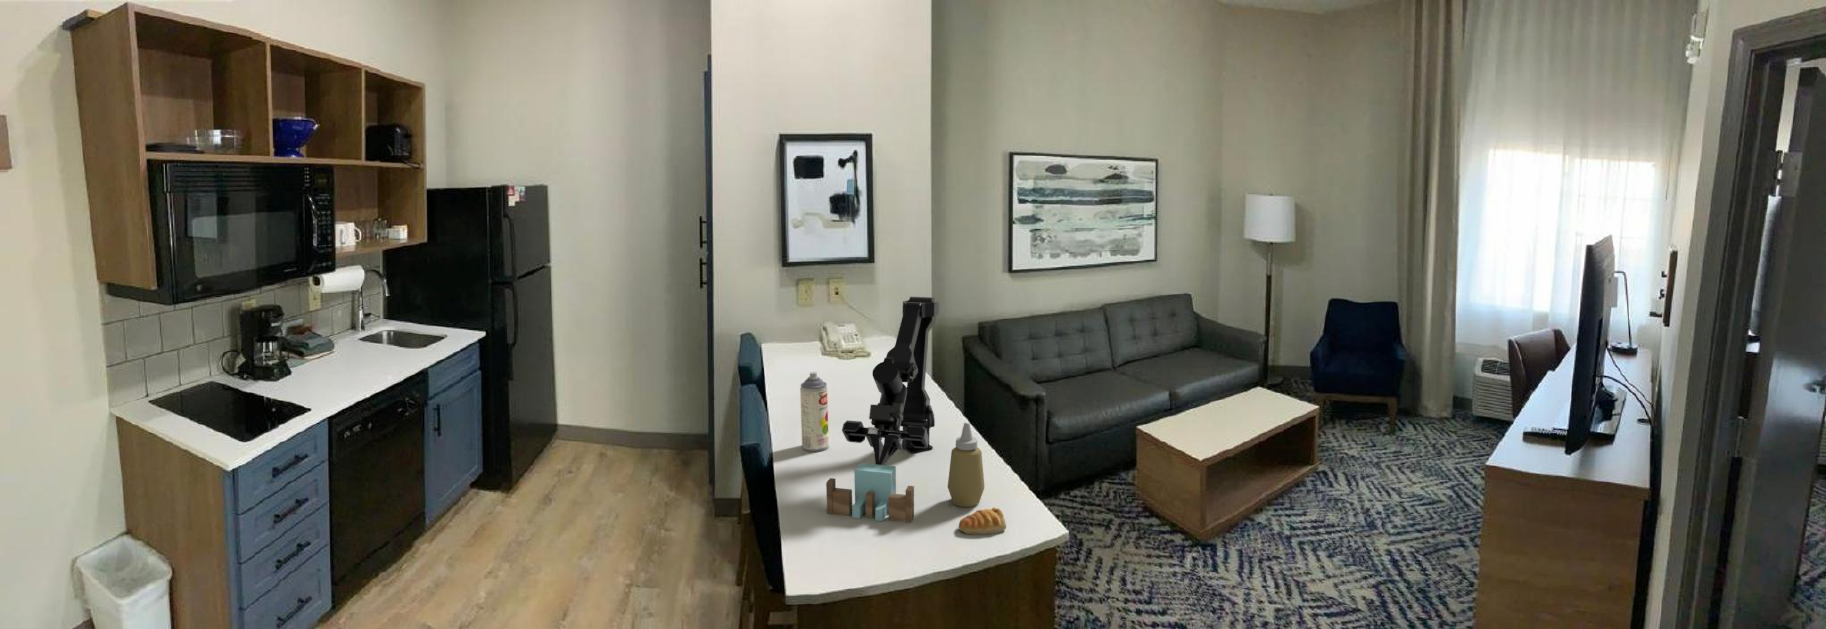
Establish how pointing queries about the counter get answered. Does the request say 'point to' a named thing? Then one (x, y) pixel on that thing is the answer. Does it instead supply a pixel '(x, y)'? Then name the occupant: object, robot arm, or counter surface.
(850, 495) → the rail
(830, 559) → the counter surface
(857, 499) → the pale blue brick
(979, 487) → the squeeze bottle
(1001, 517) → the pastry
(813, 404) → the aerosol can
